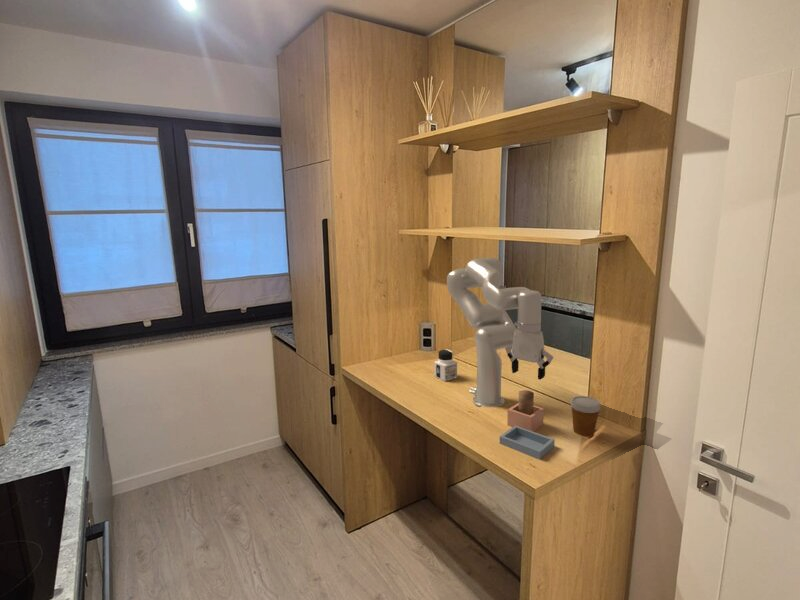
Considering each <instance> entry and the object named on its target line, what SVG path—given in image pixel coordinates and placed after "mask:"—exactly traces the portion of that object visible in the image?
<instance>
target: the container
mask: <svg viewBox="0 0 800 600" xmlns="http://www.w3.org/2000/svg"><path fill="white" fill-rule="evenodd" d="M453 354H454V352H453V351H452V350H450V349H446V348H445V349H441V350H439V351H438V360H435V361H434V362H433V363H434V368H433V370H434V371H433V372H434V374H433V375H434V377H435V378H437V379H438V378H439V380H440V381H444V382H448V381H450V379H451V380H453V379H452V378H454V379H456V378H455V377H457V378H458V361H455V360H454V359H453V358H454V357H453ZM447 380H448V381H447Z"/></svg>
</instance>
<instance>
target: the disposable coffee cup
mask: <svg viewBox="0 0 800 600" xmlns="http://www.w3.org/2000/svg"><path fill="white" fill-rule="evenodd" d="M570 405H571V406H570V407H571V415H572V428H573V432H574V433H575V434H577V435H579V436H582V437H588V439H591V438H594V434H595V432H596V431H595V430H596V427H597V421H598V417H599V413H600V410H601V408H602V407H601V404H600V401H599V400H598V399H596V398H594V397H591V396H587V395H586V396H585V395H577V396H574V397H573V398H571V400H570Z"/></svg>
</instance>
